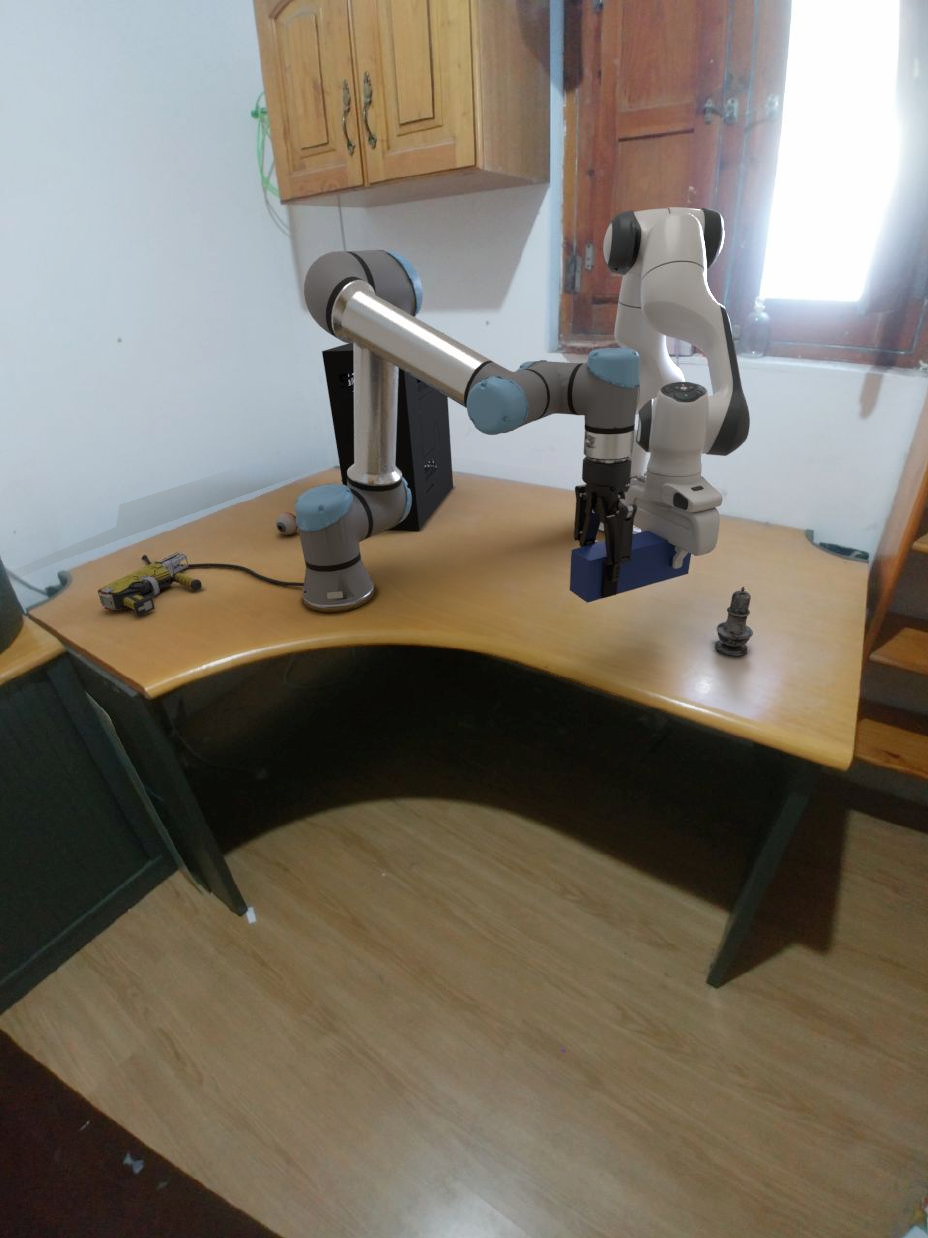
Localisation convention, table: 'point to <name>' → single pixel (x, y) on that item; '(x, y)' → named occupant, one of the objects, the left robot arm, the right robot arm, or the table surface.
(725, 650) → the chess piece
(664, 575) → the bar
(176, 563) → the toy gun
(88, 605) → the table surface
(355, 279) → the left robot arm
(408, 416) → the black tall block
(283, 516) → the eyeball
